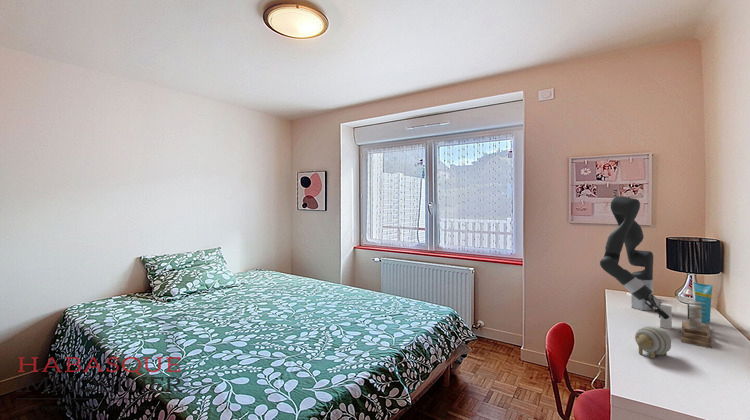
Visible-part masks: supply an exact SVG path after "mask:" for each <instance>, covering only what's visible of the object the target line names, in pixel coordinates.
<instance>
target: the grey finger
mask: <svg viewBox="0 0 750 420" xmlns="http://www.w3.org/2000/svg"><path fill="white" fill-rule="evenodd" d="M660 308H661V309H662V310H663V311H664V312H665V313H666V314H667V315H668V316H669V318H668V319H664V318H663V317H662V316H661V315H660V314H659V313H658V318H659V319H660V320H659V322H660V327H659V328H664V329H668V330H669V329H670V330H672V328H673V326H672V325H673V321H672V320H673V316H672V313H673V312H672V310H673V309H672V304H667V303H663V302H662V303H660Z"/></svg>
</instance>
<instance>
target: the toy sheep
mask: <svg viewBox="0 0 750 420" xmlns="http://www.w3.org/2000/svg"><path fill="white" fill-rule="evenodd" d="M634 340H635V342H636V344H637V347H638V354H639V355H643V351H644V352H646V353H648V354H650V359H653V360H654V359H655V357H656V356H657V355H658V356H660V355H663V356H667V353H668V352H669V351H670V350H671V347H672V337H671V336H670V335H669V333H668V332H667V331H666V330H665V329H662V328H661V327H656V326H643V327H641V328H639V329H638V330H637V331H636V332H635V335H634Z"/></svg>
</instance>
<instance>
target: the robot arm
mask: <svg viewBox="0 0 750 420" xmlns="http://www.w3.org/2000/svg"><path fill="white" fill-rule="evenodd" d="M610 201H611V202H610V211H611V213H612V214H613V216H614V218H615V220H616V222H617V225H618V227H616V228H615V229H613V231H611V232H610V234H609V235H608V237H607V240H606V244H605V247H604V248H605V249H604V250H605V251H604V256H603V258H602V259H600V261H599V266H600V267H601V268H602V270H603V271H605V272H606V273H607V274H609V275H610V276H611V277H612V278H614V279H616V280H617V282H618V283H620V284H621V285H622V286H623V287H624V288H625V289H626V290H627V291H628V293H630V294H631V295H630V296H631V308H632V309H633V308H634V309H636V310H641V311H650V312H651V311H653V312H654V313H656V314H658V315H659V314H660V315H661V316H662V317H663V318H664V319H668V318H669V316H668V315H667V314H666V313H665V312H664V311H663V310H662V309H661V308H660V303H662V304H663V302H662V301H660V300H659V299H658V298H657V297H656V296H655V295H654V277H653V276H654V275H653V274H654V254H653V252H652V251H650V250H639V249H638V250H637V249H636V248H637V246H639V245H640V244H641V243H643V239H644V238H645V237H644V232H643V229H642V227H641V226H640V225H641V224H639V223H638V222H637V221H636V220H635V219H636V217H638V216H637V215H638V213H639V211H640V208H641V202H640V200H639V199H637V198H632V197H627V196H620V195H617V196H615V197H613V198H612V199H611V200H610ZM624 246H625V250H626V251H625V252H626V254H627V255H626V256H627V260H628V263H629V264H630V265H631V266H634V267H641V268H644V269H642V270H639V271H634V272H632V273H631V272H630V271H629V270H628V269H625V268H623V267H622V266H621V265H620V264H619V263H620V257H621V252H622V250H623V247H624Z"/></svg>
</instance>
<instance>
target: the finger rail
mask: <svg viewBox="0 0 750 420" xmlns="http://www.w3.org/2000/svg"><path fill="white" fill-rule="evenodd" d="M687 320H688V321H686V320H681V337H680V339H681V340H680V341H681V342H682V343H685V344H691V345H697V346H701V347H704V346H705V347H706V348H709V347H710V348H711V349H712V339H711V338H712V337H711V334H710V333H711V332H710V328H709V325H708V324H705V323H704V324H703V322H702V318H701V303H700V302H695V301H693V300H691V301H690V300H689V301H688V303H687Z"/></svg>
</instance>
